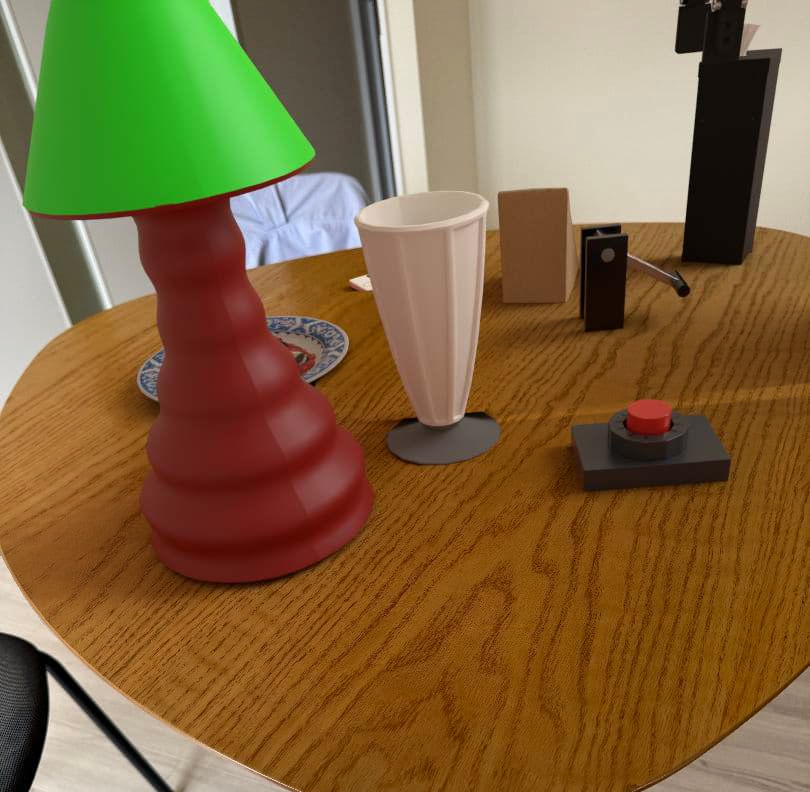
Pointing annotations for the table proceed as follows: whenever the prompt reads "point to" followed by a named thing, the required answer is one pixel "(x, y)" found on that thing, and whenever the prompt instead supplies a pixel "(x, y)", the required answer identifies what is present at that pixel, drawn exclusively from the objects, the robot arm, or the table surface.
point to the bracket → (603, 277)
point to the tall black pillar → (729, 154)
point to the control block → (648, 454)
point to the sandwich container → (536, 245)
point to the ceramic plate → (303, 336)
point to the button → (648, 417)
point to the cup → (431, 316)
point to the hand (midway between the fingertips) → (704, 57)
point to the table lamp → (197, 279)
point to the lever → (657, 273)
